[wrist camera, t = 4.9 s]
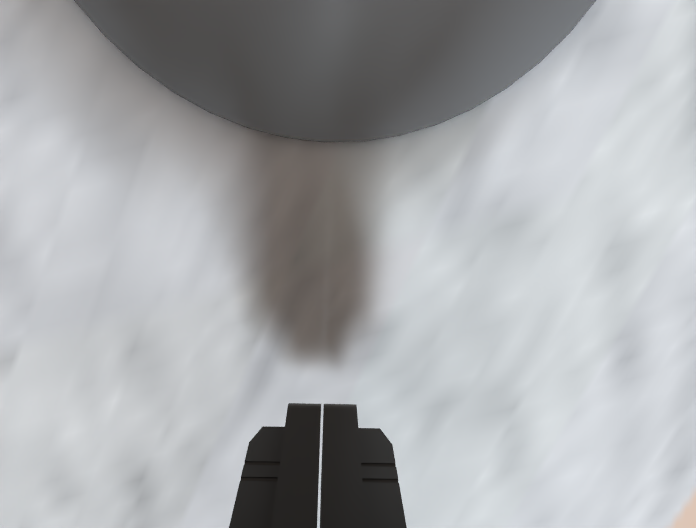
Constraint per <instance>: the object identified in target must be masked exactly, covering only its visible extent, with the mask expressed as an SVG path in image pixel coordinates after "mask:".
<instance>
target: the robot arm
mask: <svg viewBox="0 0 696 528" xmlns="http://www.w3.org/2000/svg"><path fill="white" fill-rule="evenodd" d="M320 418H321V404H298V403H289V404H288V409H287V416H286V424H285V427H262V428H261V429H260V430H259V432H258V433H257V434H256V435H255V436H254V437H253V439H252V440H251V441H250V442H249V446H248V450H247V454H246V458H245V465H244V467H243V471H242V475H241V481H240V484H239V488H238V492H237V496H236V501H235V505H234V509H233V513H232V518H231V522H230V526H229V528H317V508H318V479H319V449H320ZM320 528H406V522H405V516H404V510H403V504H402V499H401V493H400V487H399V483H398V476H397V470H396V467H395V458H394V452H393V447H392V444H391V442H390V441H389V440H388V439H387V437H386V436H385V435H384V433H383V432H382V431H381V429H374V428H358V419H357V407H356V405H352V404H324V415H323V443H322V473H321V508H320Z"/></svg>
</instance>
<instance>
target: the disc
mask: <svg viewBox="0 0 696 528" xmlns="http://www.w3.org/2000/svg"><path fill="white" fill-rule="evenodd" d="M74 1H75V2H76V3H77V4H78V5H79V7H80V8H81V9H82V10H83V11H84V12H85V13H86V15H87V16H88V17H89V18H90V19H91V20H92V22H93V23H94V24H95V25H96V26H97V27H98V28H99V30H100V31H101V32H102V33H103V34H104V35H105V36H106V37H107V38H108V39H109V40H110V41H111V42H112V43H113V44H114V45H115V46H116V47H117V48H119V49H120V50H121V51H122V52H123V53H124V54H125V55H126V56H127V57H128V58H129V59H131V60H132V61H133V62H134V63H135V64H136V65H137V66H138V67H139V68H141V69H142V70H143V71H145V72H146V73H148V74H149V75H150V76H152V77H153V78H155V79H156V80H157V81H159V82H160V83H161V84H163V85H164V86H166V87H167V88H168V89H170V90H171V91H172V92H174V93H176V94H177V95H179V96H181V97H183V98H185V99H186V100H188V101H190V102H192V103H194V104H195V105H197V106H199V107H201V108H203V109H204V110H206V111H208V112H210V113H212V114H215V115H217V116H220V117H222V118H225V119H227V120H230V121H232V122H235V123H237V124H240V125H242V126H245V127H247V128H251V129H255V130H259V131H263V132H267V133H270V134H274V135H278V136H282V137H287V138H295V139H303V140H312V141H320V142H349V141H367V140H373V139H380V138H387V137H393V136H399V135H403V134H406V133H410V132H413V131H417V130H420V129H424V128H427V127H431V126H434V125H437V124H439V123H441V122H444V121H446V120H448V119H451V118H453V117H455V116H457V115H460V114H462V113H464V112H467V111H469V110H471V109H473V108H475V107H476V106H478V105H480V104H481V103H483V102H485V101H486V100H488V99H490V98H491V97H493V96H495V95H496V94H498V93H500V92H501V91H503V90H505V89H506V88H508V87H509V86H510V85H512V84H513V83H514V82H515V81H517V80H518V79H519V78H521V77H522V76H523V75H524V74H526V73H527V72H528V71H530V70H531V69H532V68H533V67H535V66H536V65H537V64H539V63H540V62H541V61H542V60H543V59H544V58H545V57H546V56H547V55H548V54H549V53H550V52H551V51H552V50H553V49H554V48H555V47H556V46H557V45H558V44H559V43H560V42H561V41H562V40H563V39H564V38H565V37H566V36H567V35H568V34H569V33H570V32H571V31H572V30H573V28H574V27H575V26H576V25H577V23H578V22H579V21H580V20H581V18H582V17H583V16H584V15H585V13H586V12H587V11H588V10H589V9H590V7H591V6H592V5H593V4H594V2H595V1H596V0H74Z"/></svg>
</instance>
